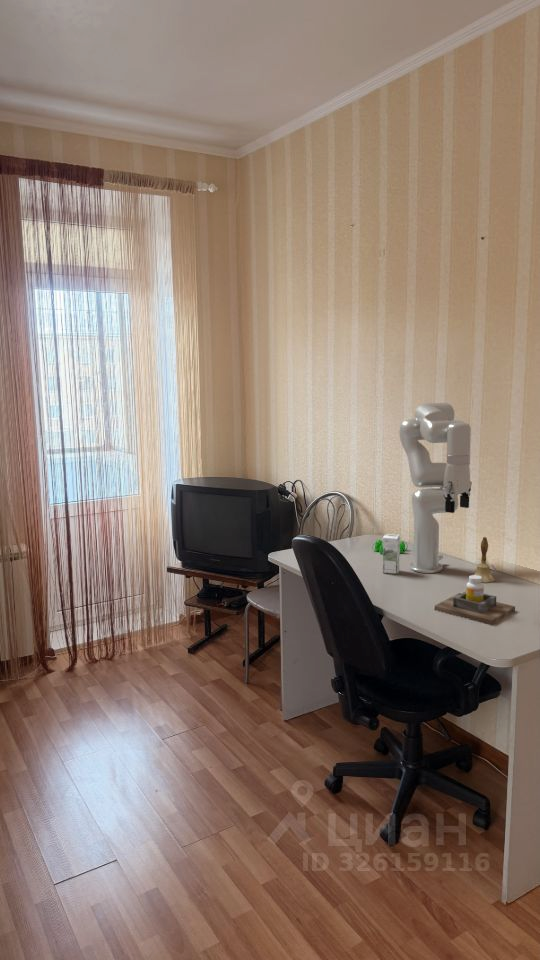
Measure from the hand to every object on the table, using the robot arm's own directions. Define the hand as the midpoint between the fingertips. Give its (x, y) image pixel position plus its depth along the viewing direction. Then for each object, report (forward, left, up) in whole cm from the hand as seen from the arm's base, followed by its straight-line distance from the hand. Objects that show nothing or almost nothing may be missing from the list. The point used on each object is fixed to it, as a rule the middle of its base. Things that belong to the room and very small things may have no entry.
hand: (457, 509), depth 235 cm
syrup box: (-8, -32, -31) cm, 45 cm away
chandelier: (-32, -49, -31) cm, 66 cm away
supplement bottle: (+9, +12, -29) cm, 33 cm away
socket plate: (+9, +12, -30) cm, 34 cm away
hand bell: (-22, -1, -31) cm, 38 cm away
